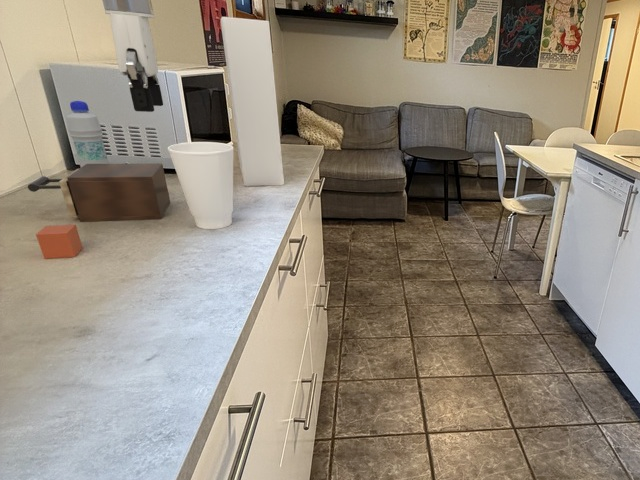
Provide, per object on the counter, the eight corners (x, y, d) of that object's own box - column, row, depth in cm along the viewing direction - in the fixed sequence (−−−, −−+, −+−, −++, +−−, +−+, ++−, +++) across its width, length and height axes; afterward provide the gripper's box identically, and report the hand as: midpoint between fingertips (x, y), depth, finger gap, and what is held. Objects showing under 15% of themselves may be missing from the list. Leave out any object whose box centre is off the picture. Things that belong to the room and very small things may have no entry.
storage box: (284, 184, 133) (269, 21, 114) (244, 186, 129) (222, 16, 110) (275, 168, 149) (261, 23, 131) (240, 169, 145) (220, 19, 127)
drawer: (32, 218, 94) (19, 181, 91) (52, 202, 104) (42, 168, 100) (145, 214, 101) (137, 180, 97) (155, 199, 110) (148, 168, 107)
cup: (224, 212, 108) (212, 139, 101) (255, 224, 103) (245, 148, 95) (171, 223, 100) (155, 145, 92) (202, 237, 94) (187, 155, 86)
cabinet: (80, 221, 97) (66, 177, 92) (97, 204, 107) (86, 163, 103) (161, 219, 101) (151, 176, 97) (170, 202, 112) (162, 163, 108)
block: (44, 258, 80) (35, 234, 78) (53, 249, 84) (45, 225, 82) (75, 257, 82) (67, 233, 80) (83, 247, 85) (75, 224, 83)
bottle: (119, 181, 124) (98, 100, 115) (112, 188, 119) (89, 102, 109) (89, 181, 122) (65, 98, 113) (80, 188, 117) (54, 101, 107)
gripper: (116, 7, 91) (137, 102, 99) (89, 1, 77) (116, 113, 84) (160, 11, 93) (177, 104, 101) (142, 6, 79) (164, 114, 87)
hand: (149, 108), depth 93 cm, fingers open, 9 cm apart
